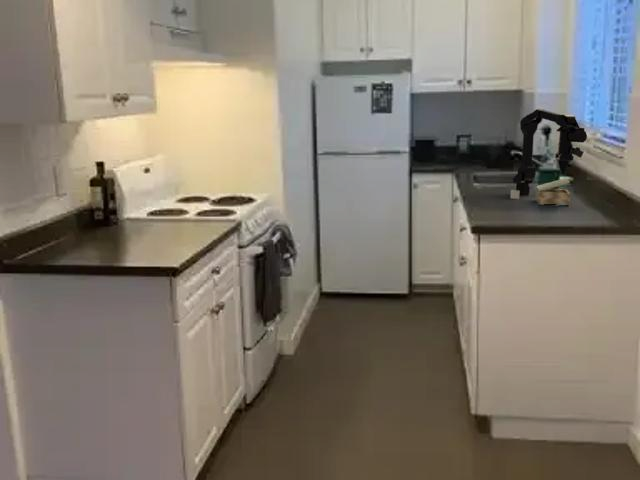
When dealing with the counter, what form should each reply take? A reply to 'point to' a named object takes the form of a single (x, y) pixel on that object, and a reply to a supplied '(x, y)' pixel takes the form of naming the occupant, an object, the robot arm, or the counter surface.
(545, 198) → the box
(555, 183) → the lid
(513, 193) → the block
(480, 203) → the counter surface
